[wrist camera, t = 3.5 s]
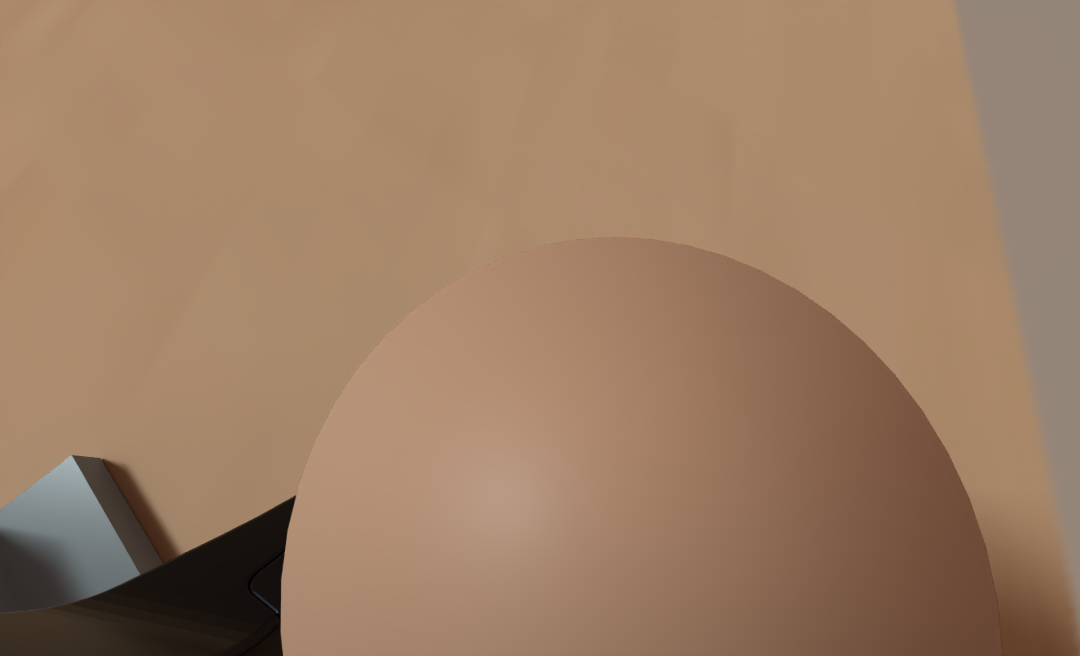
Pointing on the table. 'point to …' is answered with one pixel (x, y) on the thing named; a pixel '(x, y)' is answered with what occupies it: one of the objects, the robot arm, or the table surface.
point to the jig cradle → (69, 539)
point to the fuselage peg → (630, 477)
